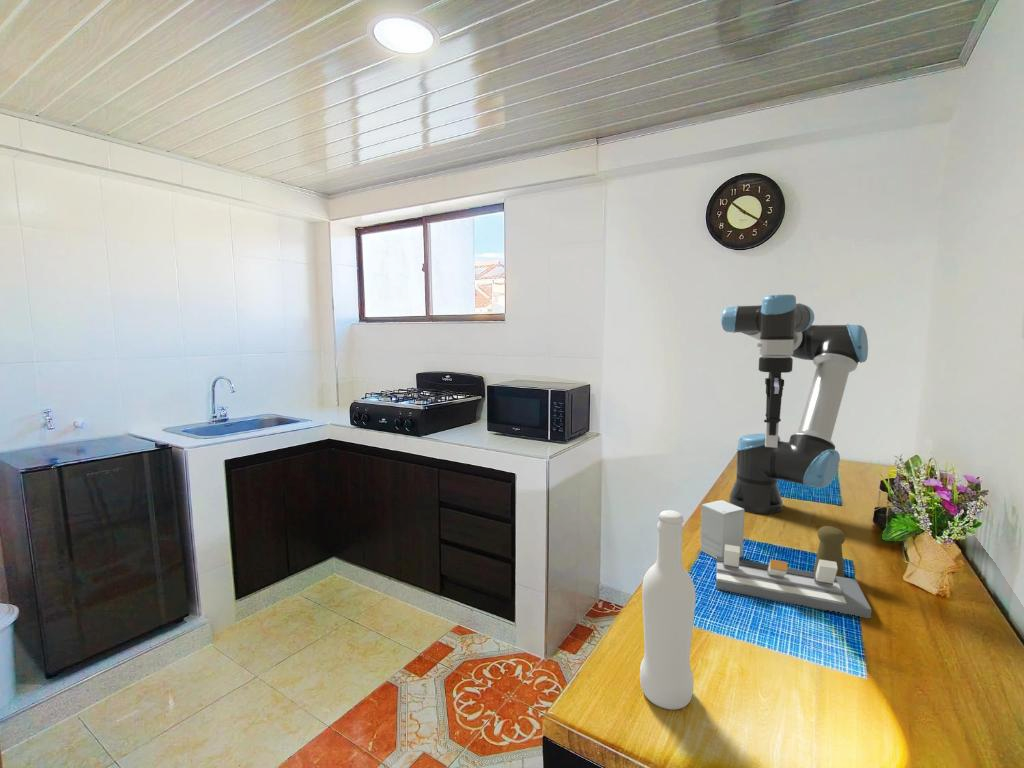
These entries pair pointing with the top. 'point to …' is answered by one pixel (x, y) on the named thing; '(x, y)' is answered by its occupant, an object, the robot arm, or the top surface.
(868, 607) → the breaker panel
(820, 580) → the white block
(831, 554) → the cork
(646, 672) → the bottle
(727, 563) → the white block
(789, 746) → the top surface
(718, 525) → the supplement box
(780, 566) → the paddle
